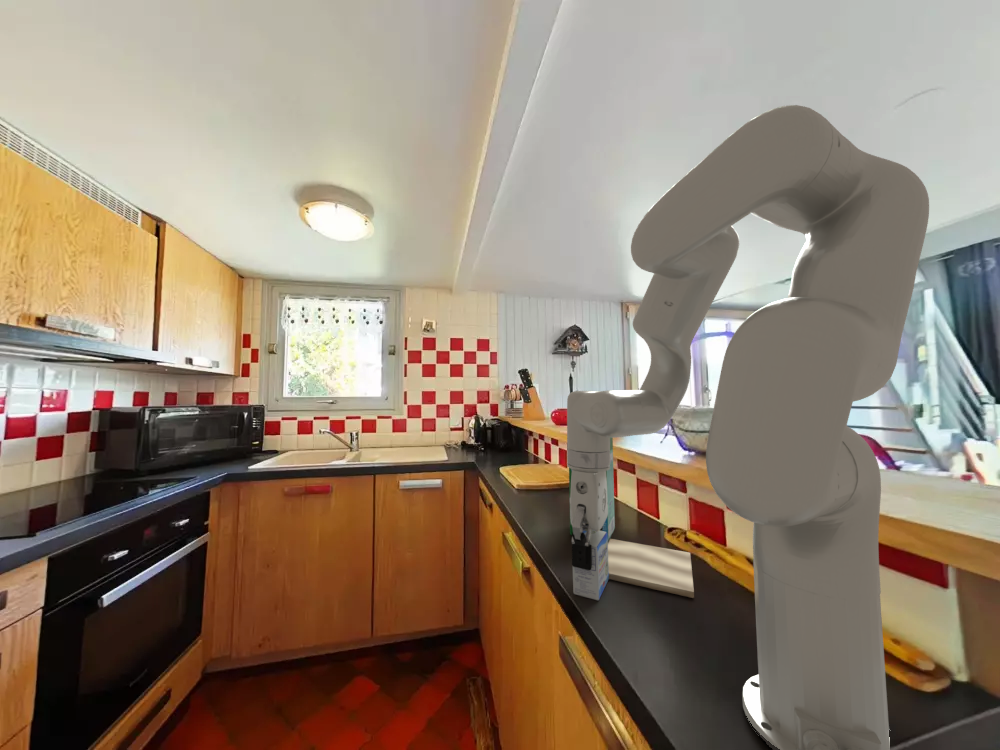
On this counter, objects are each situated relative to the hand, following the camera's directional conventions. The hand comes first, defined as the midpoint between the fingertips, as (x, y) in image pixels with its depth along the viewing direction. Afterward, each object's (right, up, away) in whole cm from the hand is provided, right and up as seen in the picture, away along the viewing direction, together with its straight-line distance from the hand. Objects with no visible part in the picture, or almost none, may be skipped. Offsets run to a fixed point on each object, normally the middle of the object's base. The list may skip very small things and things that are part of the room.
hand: (588, 555), depth 62 cm
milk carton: (+7, -7, +24) cm, 26 cm away
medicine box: (0, -5, -1) cm, 5 cm away
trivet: (+13, -5, +6) cm, 15 cm away
